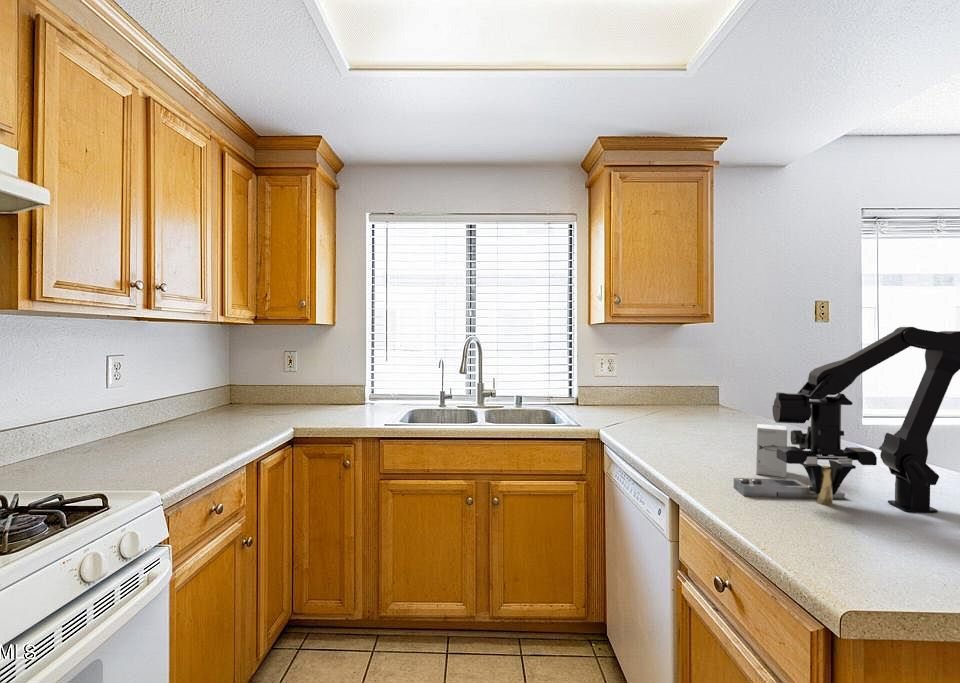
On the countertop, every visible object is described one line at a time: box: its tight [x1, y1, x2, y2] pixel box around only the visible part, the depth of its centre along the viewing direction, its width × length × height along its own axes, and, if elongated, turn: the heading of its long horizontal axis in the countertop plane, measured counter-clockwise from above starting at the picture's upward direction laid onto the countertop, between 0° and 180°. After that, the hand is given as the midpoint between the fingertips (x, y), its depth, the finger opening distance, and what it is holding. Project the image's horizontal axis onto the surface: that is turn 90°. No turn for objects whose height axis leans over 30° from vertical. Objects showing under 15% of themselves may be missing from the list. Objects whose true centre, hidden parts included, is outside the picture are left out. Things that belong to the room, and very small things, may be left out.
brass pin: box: [816, 465, 834, 506], centre depth 126 cm, size 3×3×8 cm
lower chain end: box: [776, 484, 846, 500], centre depth 133 cm, size 7×14×2 cm, turn 85°
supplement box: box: [755, 423, 788, 478], centre depth 152 cm, size 7×7×13 cm
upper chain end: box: [733, 477, 810, 498], centre depth 134 cm, size 7×14×3 cm, turn 85°
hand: (824, 493), depth 126 cm, fingers closed on brass pin, 3 cm apart
